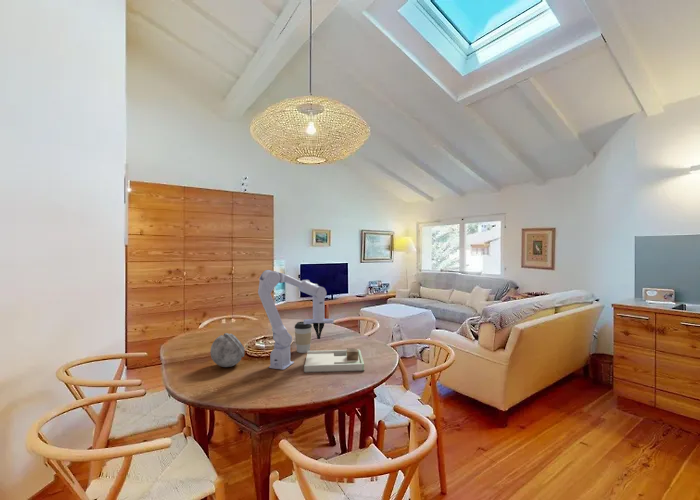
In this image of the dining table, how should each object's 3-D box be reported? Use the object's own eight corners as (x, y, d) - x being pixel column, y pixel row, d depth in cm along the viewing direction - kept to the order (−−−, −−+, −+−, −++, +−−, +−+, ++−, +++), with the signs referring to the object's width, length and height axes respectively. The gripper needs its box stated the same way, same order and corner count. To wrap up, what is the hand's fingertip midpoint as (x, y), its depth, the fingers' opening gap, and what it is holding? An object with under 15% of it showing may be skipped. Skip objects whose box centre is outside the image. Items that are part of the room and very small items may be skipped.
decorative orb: (249, 366, 145) (249, 333, 145) (217, 375, 136) (216, 339, 136) (237, 358, 156) (236, 327, 156) (206, 365, 147) (205, 332, 147)
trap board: (304, 372, 138) (304, 365, 138) (307, 356, 158) (307, 350, 158) (364, 371, 139) (364, 364, 139) (360, 355, 159) (360, 349, 159)
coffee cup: (303, 354, 161) (303, 325, 161) (290, 351, 166) (290, 322, 166) (315, 350, 168) (315, 321, 168) (303, 347, 173) (303, 319, 173)
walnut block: (347, 360, 147) (347, 351, 147) (346, 356, 152) (346, 348, 152) (358, 360, 147) (358, 351, 147) (357, 356, 152) (357, 348, 152)
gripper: (303, 312, 152) (303, 341, 152) (333, 312, 153) (333, 340, 153) (304, 309, 159) (304, 337, 159) (333, 309, 160) (333, 336, 160)
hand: (318, 338), depth 157 cm, fingers closed
